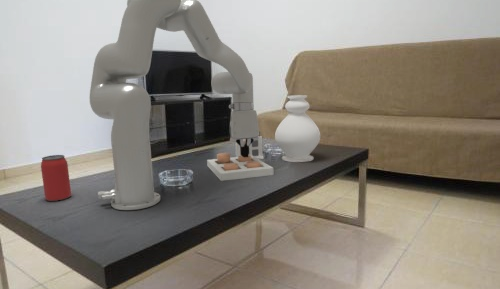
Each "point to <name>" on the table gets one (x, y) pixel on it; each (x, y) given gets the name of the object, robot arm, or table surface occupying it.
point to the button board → (239, 169)
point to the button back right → (244, 158)
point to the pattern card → (252, 148)
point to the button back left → (223, 158)
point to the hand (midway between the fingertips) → (245, 156)
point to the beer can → (55, 178)
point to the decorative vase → (297, 131)
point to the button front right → (253, 164)
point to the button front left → (230, 166)
